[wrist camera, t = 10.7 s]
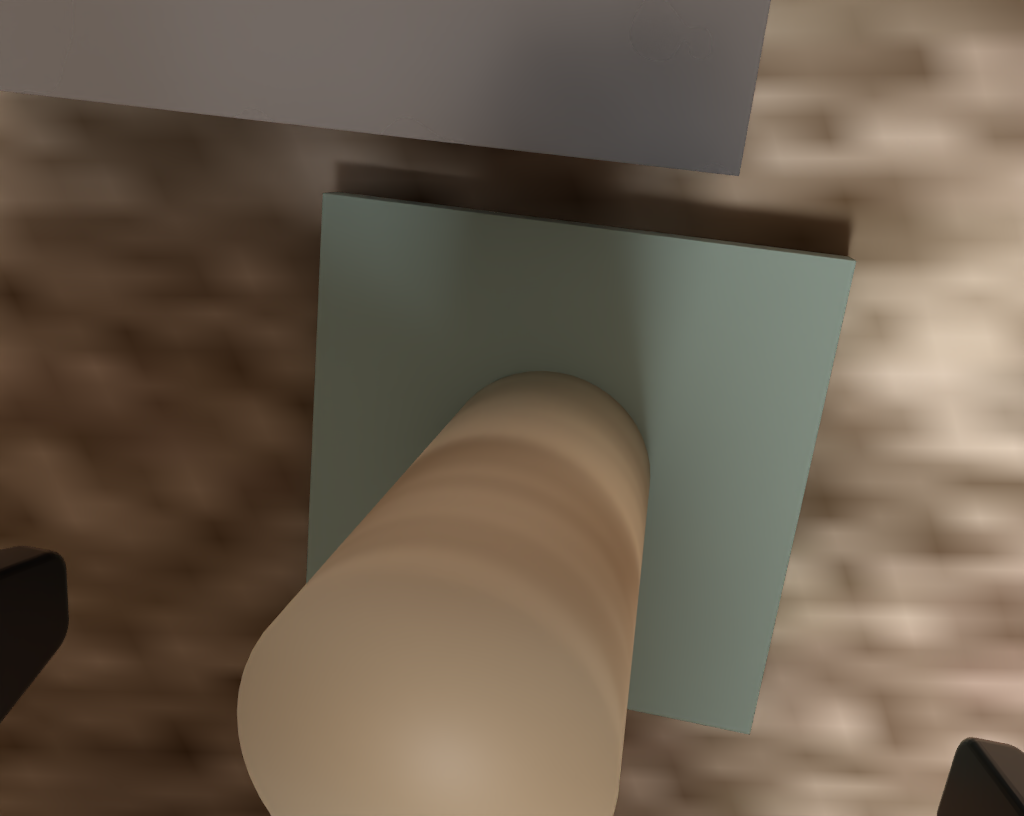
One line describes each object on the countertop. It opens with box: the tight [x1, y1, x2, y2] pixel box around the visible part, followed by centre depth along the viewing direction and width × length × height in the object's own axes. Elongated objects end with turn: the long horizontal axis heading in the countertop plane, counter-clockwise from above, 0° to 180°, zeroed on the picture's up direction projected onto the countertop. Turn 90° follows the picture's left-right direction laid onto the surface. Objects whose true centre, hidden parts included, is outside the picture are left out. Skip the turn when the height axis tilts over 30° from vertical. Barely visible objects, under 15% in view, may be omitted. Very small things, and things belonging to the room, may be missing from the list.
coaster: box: [306, 192, 856, 735], centre depth 14 cm, size 8×8×1 cm
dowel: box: [237, 371, 650, 816], centre depth 11 cm, size 3×3×7 cm
